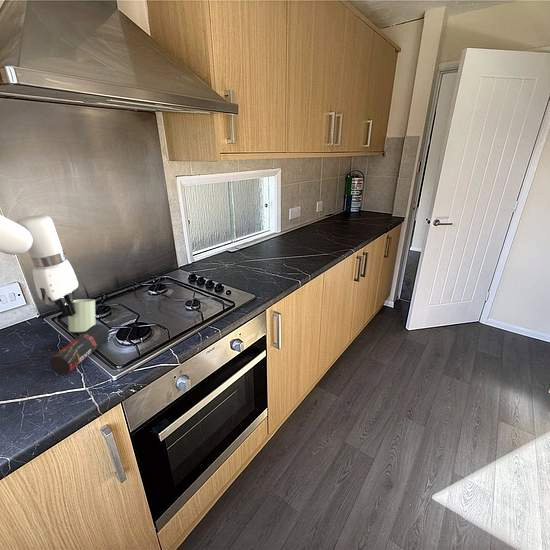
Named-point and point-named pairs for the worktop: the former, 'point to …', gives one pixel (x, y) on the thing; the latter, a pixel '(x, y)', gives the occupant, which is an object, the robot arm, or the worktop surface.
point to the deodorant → (79, 349)
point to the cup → (82, 315)
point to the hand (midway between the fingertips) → (69, 314)
